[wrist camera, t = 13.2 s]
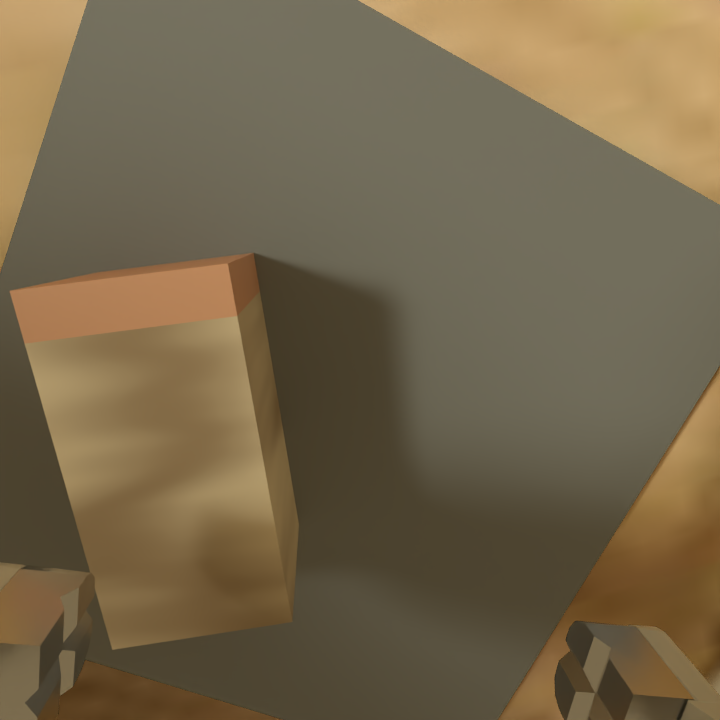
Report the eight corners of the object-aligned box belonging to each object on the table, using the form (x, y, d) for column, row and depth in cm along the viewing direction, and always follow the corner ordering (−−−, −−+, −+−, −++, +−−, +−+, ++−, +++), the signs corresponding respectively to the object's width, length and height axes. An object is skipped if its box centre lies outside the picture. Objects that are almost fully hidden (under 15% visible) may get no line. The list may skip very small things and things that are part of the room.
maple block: (112, 649, 12) (9, 290, 10) (163, 544, 16) (97, 272, 14) (292, 621, 12) (228, 263, 10) (299, 524, 16) (253, 252, 14)
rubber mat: (-92, 590, 16) (-106, 601, 15) (137, -115, 12) (129, -129, 12) (459, 760, 19) (463, 774, 19) (779, 246, 15) (794, 247, 15)
